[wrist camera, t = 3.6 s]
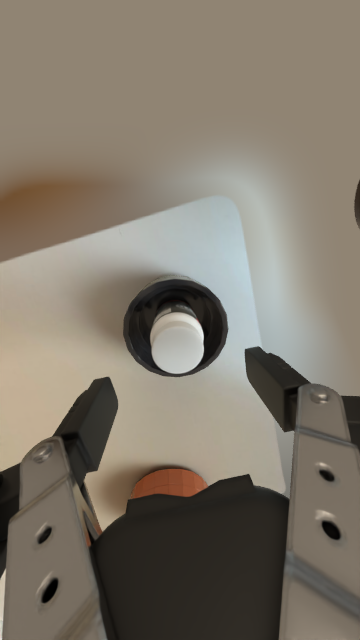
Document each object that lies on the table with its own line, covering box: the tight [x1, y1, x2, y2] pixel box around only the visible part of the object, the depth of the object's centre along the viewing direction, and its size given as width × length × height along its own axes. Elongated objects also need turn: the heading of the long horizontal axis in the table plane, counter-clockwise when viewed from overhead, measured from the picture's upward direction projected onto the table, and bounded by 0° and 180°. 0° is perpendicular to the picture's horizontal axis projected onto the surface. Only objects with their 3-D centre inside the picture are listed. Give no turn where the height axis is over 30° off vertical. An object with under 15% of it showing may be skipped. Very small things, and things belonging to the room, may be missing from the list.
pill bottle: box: [150, 300, 204, 374], centre depth 18 cm, size 5×5×8 cm
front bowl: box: [123, 275, 228, 377], centre depth 20 cm, size 10×10×5 cm
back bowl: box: [131, 469, 208, 499], centre depth 29 cm, size 13×13×5 cm
